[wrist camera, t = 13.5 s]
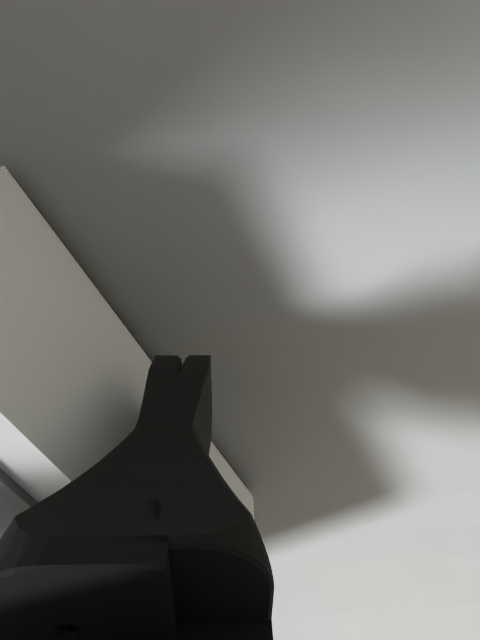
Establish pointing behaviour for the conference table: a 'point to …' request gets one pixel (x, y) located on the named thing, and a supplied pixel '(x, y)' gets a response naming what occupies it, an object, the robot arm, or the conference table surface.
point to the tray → (62, 360)
